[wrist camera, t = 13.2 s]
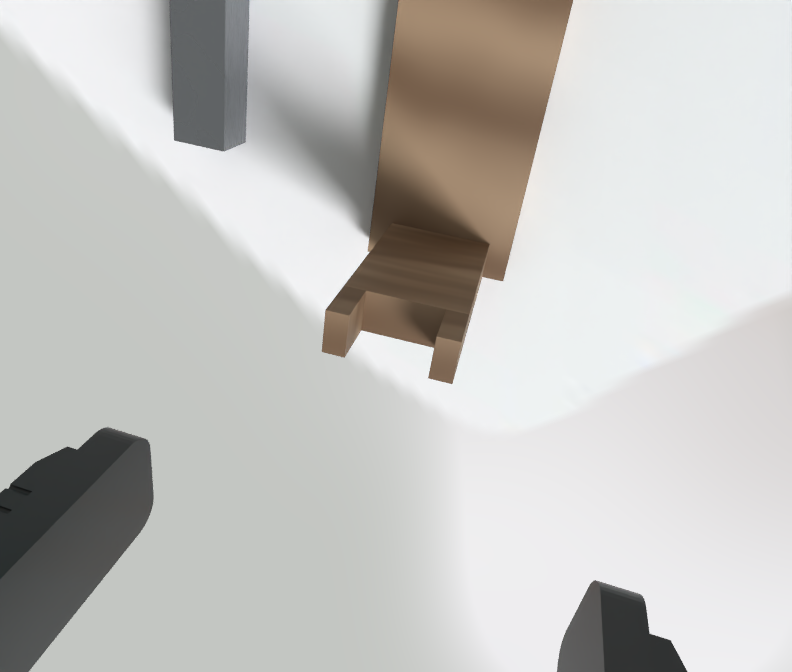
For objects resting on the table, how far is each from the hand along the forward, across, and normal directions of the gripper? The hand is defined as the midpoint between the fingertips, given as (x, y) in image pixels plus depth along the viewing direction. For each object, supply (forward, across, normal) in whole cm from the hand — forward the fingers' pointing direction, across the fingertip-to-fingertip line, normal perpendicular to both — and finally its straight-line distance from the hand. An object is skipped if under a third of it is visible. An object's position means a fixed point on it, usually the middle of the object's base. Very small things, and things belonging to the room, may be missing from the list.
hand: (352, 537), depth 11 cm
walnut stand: (+26, +2, -4) cm, 27 cm away
